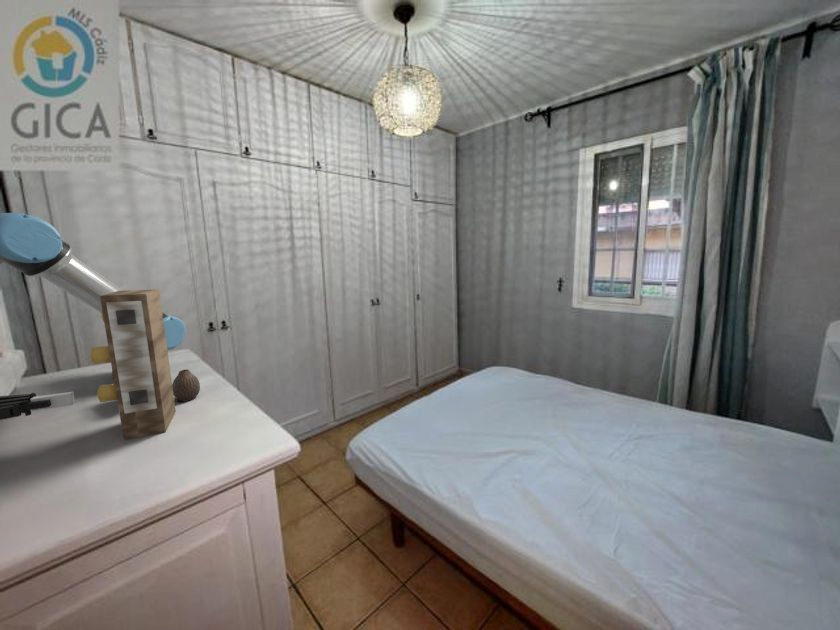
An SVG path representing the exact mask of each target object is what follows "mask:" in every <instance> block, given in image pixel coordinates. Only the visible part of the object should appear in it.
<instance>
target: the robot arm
mask: <svg viewBox="0 0 840 630" xmlns="http://www.w3.org/2000/svg"><path fill="white" fill-rule="evenodd" d="M3 263H5V264H7V265H8V266H11V267H12V268H14V269H16V270H17V271H19V272H20V273H22V274H24V275H26V276H27V277H30V278H31V277H41V278H43V279H45V280H46V281H47V282H50V283H52V284H53V285H55V286H56V287H58V288H59V289H62V290H63V291H65V292H66V293H67V294H69V295H71V296H73V297H75V298H76V299H77V300H79V301H80V302H83V303H84V304H86V305H87V306H88V307H91V308H92V309H94V310H95V311H97V312H99V313H101V310H102V306H101V300H100V296H101V295H105V294H108V293H112V292H116V291H124V290H123V289H121V288H120V287H119V286H117V285H116V284H115V283H113V282H112V281H110V280H109V279H107V277H105V276H103V275H102V274H100V273H98V272H97V271H96V270H94V268H92V267H90V266H89V265H88V264H86V263H85V262H83V261H81V260H80V259H79V258H77V257H76V256H75V255H74V254H73V252H72V246H71V245H69V244H68V243H67V242H65V241H64V240H62V236H61V235H60V232H59V231H58V230H57V229H56V228H55V227H54V226H53V225H52V224H50V223H49V222H48V221H46V220H44V219H42V218H40V217H37V216H34V215H30V214H26V213H19V212H4V213H0V264H3ZM162 314H163V321H164V329H165V336H166V344H167V351H170V350H174V349H176V348H177V347H179V346H180V345H181V344H182V343H183V341H184V339H185V338H186V334H187V332H186V331H187V330H186V324H185V322H184V321H183V320H181V319H180V318H179V317H175V316H173V315H170V316H169V315H167V313H164V312H163V311H162ZM111 377H112V379H113V380H114V377H113V371H112V370H111ZM75 400H76V399H75V396H74V391H68V392H60V393H59V392H58V393H52V394H45V395H44V394H43V395H37V394H36V393H35V392H32V393H26V394H12V395H0V421H1V420H7V419H12V418H17V417H20V416H22V414H24V416H25V417H27V416H31V415H32V411H33V412H34V411H41V410H47V409H52V408H53V409H55V408H60V407H62V408H63V407H67V406H73V405H74V404H75V403H76V402H75ZM31 410H32V411H31Z"/></svg>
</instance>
